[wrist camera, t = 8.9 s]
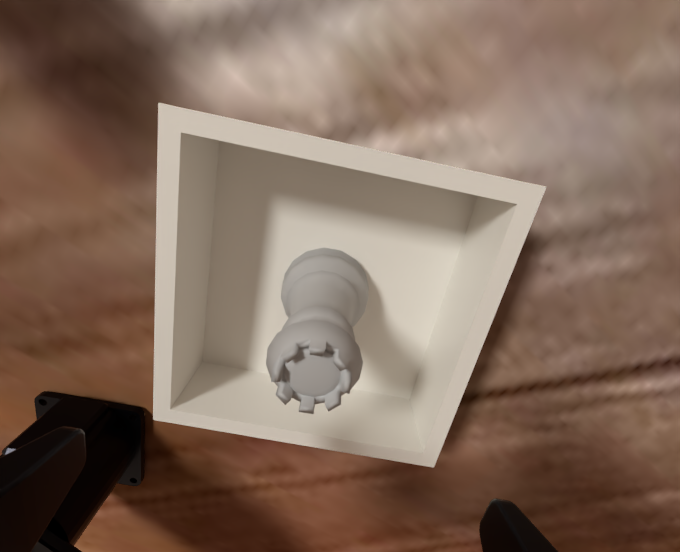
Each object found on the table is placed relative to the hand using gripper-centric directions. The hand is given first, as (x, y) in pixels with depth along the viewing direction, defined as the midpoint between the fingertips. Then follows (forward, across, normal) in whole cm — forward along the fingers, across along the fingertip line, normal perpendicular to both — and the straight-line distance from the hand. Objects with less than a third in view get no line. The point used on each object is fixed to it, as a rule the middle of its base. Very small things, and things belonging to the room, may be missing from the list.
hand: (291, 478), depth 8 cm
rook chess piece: (+12, 0, 0) cm, 12 cm away
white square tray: (+12, 0, 0) cm, 12 cm away
